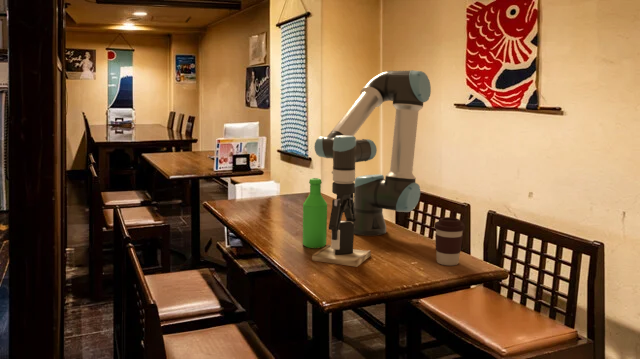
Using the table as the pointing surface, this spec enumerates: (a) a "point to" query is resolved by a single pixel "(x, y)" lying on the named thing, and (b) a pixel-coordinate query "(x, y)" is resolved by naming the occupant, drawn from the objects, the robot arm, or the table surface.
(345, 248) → the battery charger
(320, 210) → the bottle
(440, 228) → the coffee cup
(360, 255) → the board
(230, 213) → the table surface
